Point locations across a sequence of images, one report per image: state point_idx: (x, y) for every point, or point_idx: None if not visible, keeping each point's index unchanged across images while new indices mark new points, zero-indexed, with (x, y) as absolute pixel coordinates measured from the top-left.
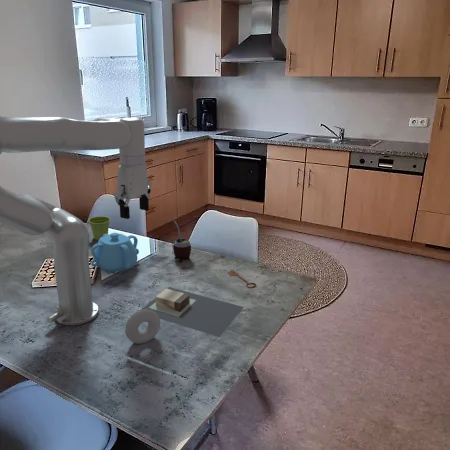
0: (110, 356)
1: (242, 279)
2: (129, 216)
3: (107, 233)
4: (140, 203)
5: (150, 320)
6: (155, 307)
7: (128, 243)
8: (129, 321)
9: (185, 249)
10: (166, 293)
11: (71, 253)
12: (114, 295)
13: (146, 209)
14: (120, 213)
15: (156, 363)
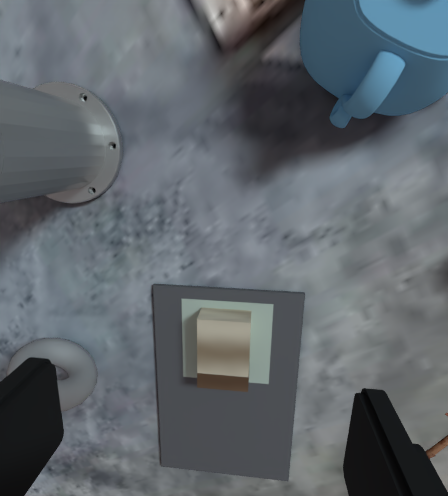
0: (9, 316)
1: (435, 446)
2: (45, 456)
3: None
4: (377, 463)
5: None
6: (190, 312)
7: (433, 68)
8: (7, 373)
9: None
10: (225, 337)
11: None
12: (196, 170)
13: (347, 472)
14: (5, 383)
15: None
